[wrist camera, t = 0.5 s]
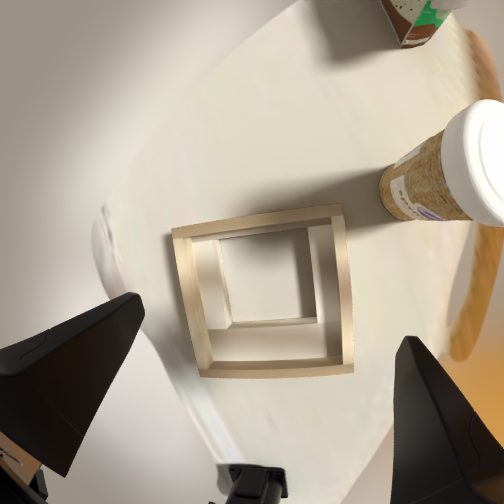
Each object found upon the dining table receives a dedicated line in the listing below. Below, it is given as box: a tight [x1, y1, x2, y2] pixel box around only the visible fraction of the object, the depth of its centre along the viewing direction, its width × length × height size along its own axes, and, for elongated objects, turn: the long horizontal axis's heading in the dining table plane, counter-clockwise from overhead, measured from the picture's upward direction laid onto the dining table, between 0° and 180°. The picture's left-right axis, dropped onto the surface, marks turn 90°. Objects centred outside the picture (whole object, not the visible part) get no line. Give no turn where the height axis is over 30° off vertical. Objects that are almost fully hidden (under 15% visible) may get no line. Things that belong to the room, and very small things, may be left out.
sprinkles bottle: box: [379, 99, 504, 227], centre depth 12 cm, size 5×4×14 cm
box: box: [171, 203, 354, 379], centre depth 21 cm, size 12×12×3 cm
